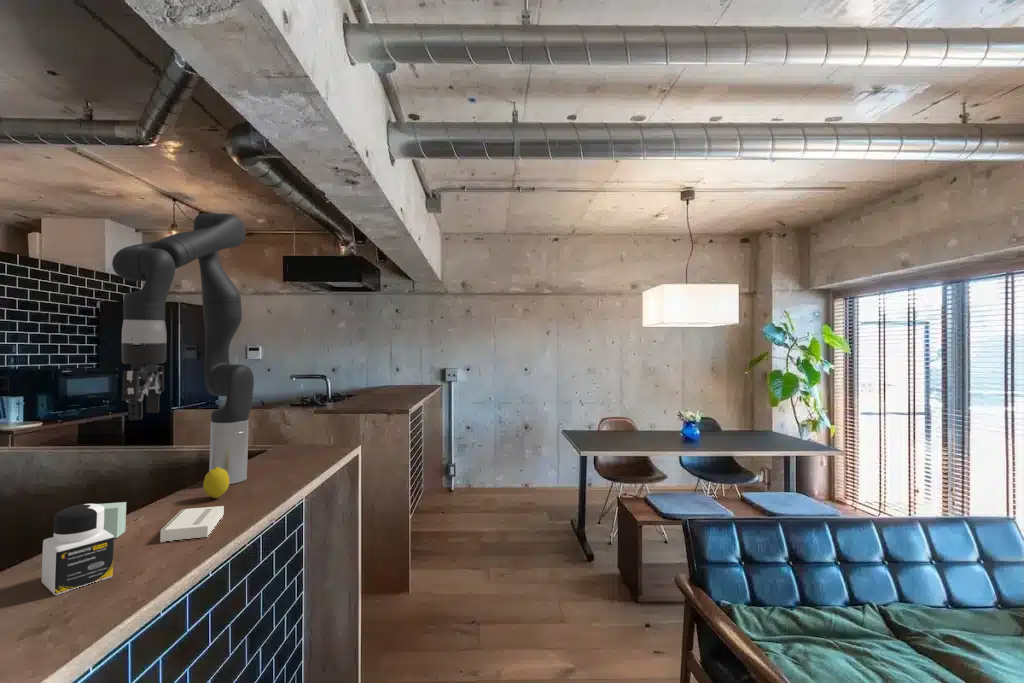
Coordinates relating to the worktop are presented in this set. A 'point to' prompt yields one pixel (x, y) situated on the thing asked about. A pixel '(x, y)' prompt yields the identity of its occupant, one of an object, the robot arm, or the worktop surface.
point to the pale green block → (115, 518)
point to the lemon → (216, 482)
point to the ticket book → (192, 523)
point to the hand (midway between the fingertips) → (144, 416)
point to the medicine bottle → (77, 549)
